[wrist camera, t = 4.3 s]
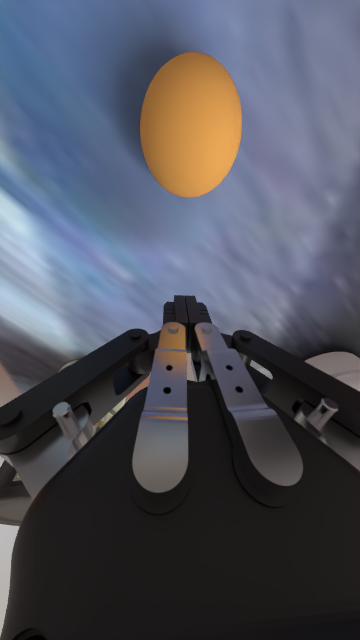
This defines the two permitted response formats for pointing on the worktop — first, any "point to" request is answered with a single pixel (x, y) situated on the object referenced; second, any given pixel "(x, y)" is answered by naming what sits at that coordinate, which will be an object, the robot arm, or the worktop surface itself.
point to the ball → (191, 124)
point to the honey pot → (339, 367)
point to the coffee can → (8, 489)
